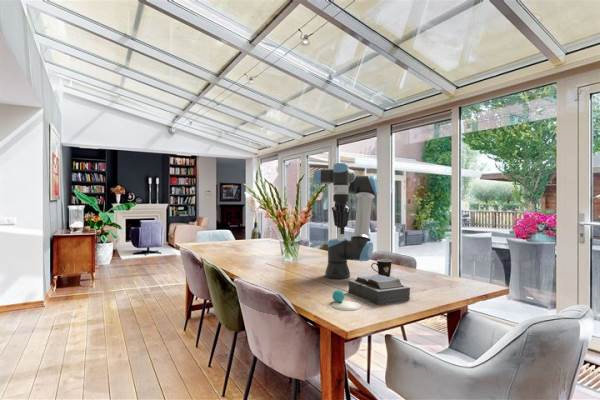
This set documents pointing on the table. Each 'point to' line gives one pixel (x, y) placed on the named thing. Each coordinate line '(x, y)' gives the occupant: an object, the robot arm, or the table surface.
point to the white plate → (346, 305)
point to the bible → (379, 289)
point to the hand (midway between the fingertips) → (340, 240)
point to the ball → (338, 296)
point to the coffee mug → (383, 267)
